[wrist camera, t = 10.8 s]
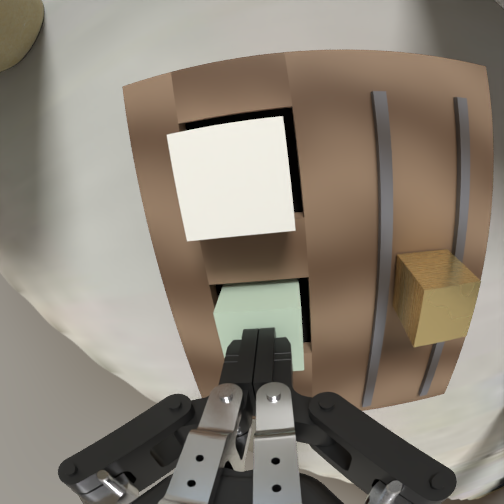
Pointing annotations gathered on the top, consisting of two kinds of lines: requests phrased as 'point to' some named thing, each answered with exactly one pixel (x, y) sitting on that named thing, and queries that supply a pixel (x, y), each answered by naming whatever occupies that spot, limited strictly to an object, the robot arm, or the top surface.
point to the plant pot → (18, 29)
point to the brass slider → (434, 296)
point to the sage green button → (261, 312)
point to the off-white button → (233, 179)
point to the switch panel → (331, 204)
